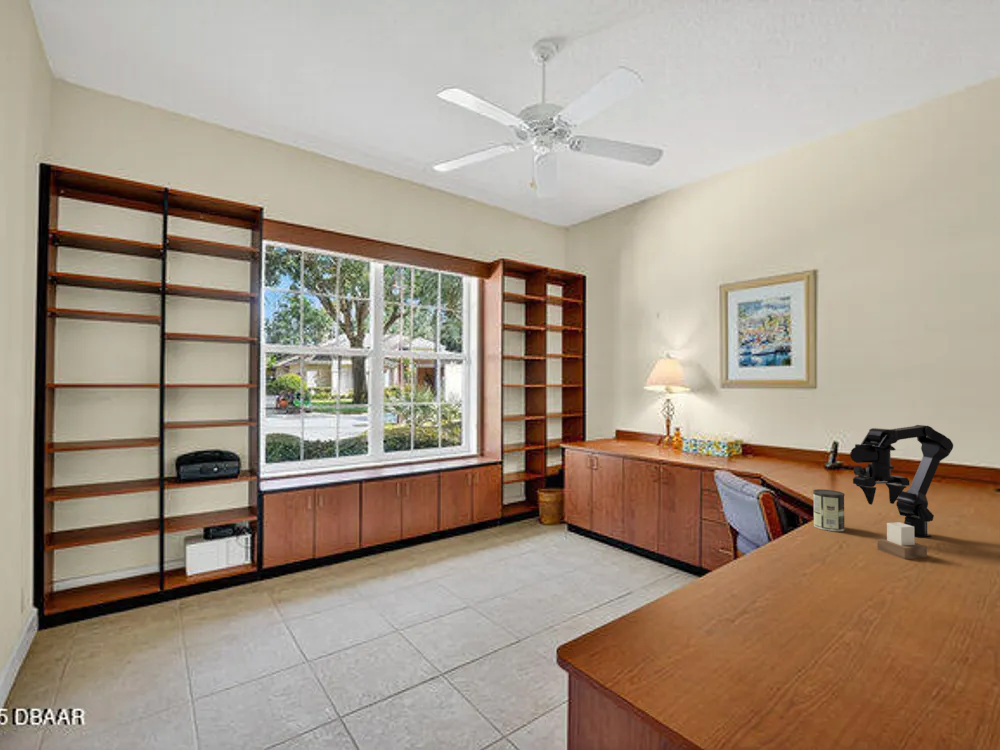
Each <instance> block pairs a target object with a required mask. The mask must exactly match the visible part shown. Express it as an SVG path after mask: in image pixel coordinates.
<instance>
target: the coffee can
mask: <svg viewBox="0 0 1000 750" xmlns="http://www.w3.org/2000/svg"><path fill="white" fill-rule="evenodd" d="M812 493H813V495H812V496H813V527H815V528H817V529H820V530H823V531H827V530H828V531H829V532H845V530H846V529H845V525H846V524H845V493H844V492H842V491H839V490H831V489H822V488H819V489H813V490H812ZM828 531H827V532H828Z"/></svg>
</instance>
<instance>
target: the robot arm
mask: <svg viewBox="0 0 1000 750" xmlns="http://www.w3.org/2000/svg"><path fill="white" fill-rule="evenodd" d="M914 438H916V440H917V442H918V443H920V444H921V446H920V449H921V452H922V457H921V461H920V463H919V464H918V467H917V470H916V472H915V475H914V477H913V478H912V479H913V480H912V481H911V484H910V480H909V478H908V477H907V476H901V475H892V474H891V470H894V469H895V468H894V467H895V466H894V465H891V460H892V459H891V451H896V448H895V447H894V446H893V444H896V443H897V442H898V441H900V440H906V439H914ZM953 448H954V443H953V442H952V440H951V439H950V438H949V437H947V436H946V435H944V434H943V433H940V432H939V431H937V430H936V429H934V428H933V427H931V426H929V425H924V424H916V425H913V426H911V425H910V426H905V427H898V428H891V429H888V428H876V427H873V428H870V429H869V431H868V432H867V434H866V435H865V437H864V439H863V440H862V441H861V443H860V444H857V443H856V444H854V447H853V448H852V449H851V451H850V453H849V456H850V458H851V460H852V461H853V462H854V463H857V464H860V463H861V464H863V463H864V464H867V467H862V466H859V465H858V466H854V467H853V474H854V475H855V476H854V477H853V478H852V484H854V485H856V487H858V488H860V489H861V490H862V492H863V493H864V497H865V499H866V501H867V503H868V505H873V502H874V500H875V496H876V495H875V494H876V490H877V487H875V486H876V485H877V484H885V485H886V487H887V489H888V499H889V504H892V505H893V504H895V502H896V507H897V510H898V514H899V515H900V516H903V517H904V521H903V522H904V524H907V525H910V526H914V537H917V538H925V537H926V538H927V537H932V534H931V533H930V534H929V533H928V523H930V522H933V521H934V517H935V515H934V514H933V512H931V511H930V510H929V508H928V505H929V501H928V498H927V493H928V491H929V489H930V486H931V485H932V482H933V479H934V477H935V474H936V472H937V470H938V467H939V465H940V463H941V461H942V460H944V459H945V458H947V457H949V455H950V454H951V452H952V450H953ZM909 486H910V487H909ZM907 487H909V488H908V490H905V489H907ZM904 490H905V491H904Z"/></svg>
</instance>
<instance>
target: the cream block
mask: <svg viewBox="0 0 1000 750" xmlns="http://www.w3.org/2000/svg"><path fill="white" fill-rule="evenodd" d="M886 539H887V541H890V542H893V543H896V544H899V545H915V543H916V542H915V536H914V526H910V525H907V524H904V523H903V522H900V521H899V522H898V521H897V522H895V521H894V522H886Z"/></svg>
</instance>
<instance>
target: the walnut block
mask: <svg viewBox="0 0 1000 750" xmlns="http://www.w3.org/2000/svg"><path fill="white" fill-rule="evenodd" d="M877 551H880V552H884V554H885V553H887V554H889V555H891V556H895V557H897V558H900V559H903V560H912V559H922V558H923V559H924V558H928V546H926V545H924V544H920V543H918V542H915V545H899V544H896V543H893V542H890V541H887V538H878V539H877Z"/></svg>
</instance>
